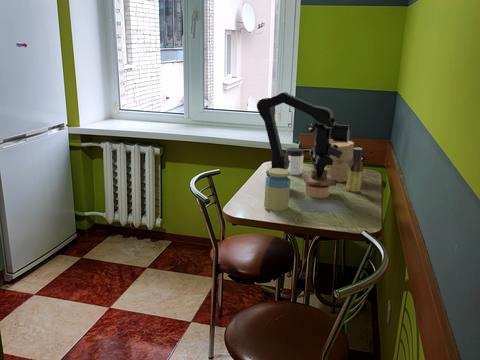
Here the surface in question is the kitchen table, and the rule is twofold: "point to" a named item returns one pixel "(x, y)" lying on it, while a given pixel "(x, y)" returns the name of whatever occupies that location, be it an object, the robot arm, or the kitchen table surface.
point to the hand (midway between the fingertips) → (318, 176)
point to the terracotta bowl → (317, 190)
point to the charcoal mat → (322, 206)
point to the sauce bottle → (355, 171)
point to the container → (340, 161)
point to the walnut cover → (318, 179)
